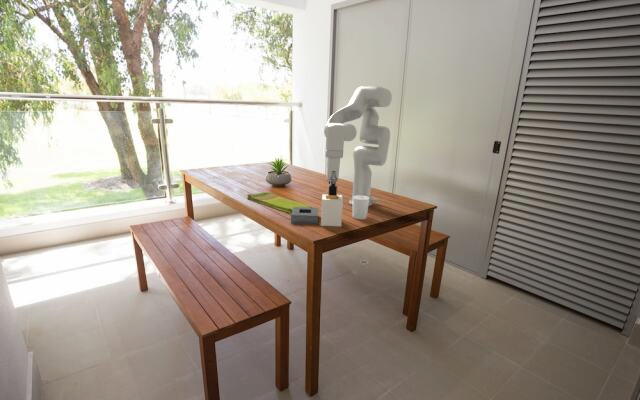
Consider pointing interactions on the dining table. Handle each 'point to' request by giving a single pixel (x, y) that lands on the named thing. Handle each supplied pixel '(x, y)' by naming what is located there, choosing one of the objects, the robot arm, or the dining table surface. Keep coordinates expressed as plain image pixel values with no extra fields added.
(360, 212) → the white cup
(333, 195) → the plug
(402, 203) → the dining table surface
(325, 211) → the upper stand
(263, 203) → the dish towel
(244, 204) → the dining table surface
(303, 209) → the lower socket plate
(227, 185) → the dining table surface
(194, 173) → the dining table surface
